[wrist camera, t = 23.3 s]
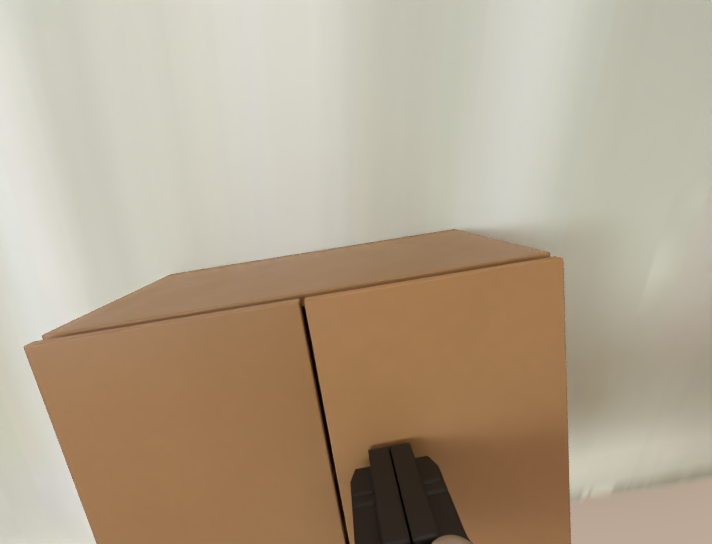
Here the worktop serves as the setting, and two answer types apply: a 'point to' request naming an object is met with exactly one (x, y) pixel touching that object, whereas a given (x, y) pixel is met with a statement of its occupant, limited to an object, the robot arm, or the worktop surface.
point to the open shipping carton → (220, 394)
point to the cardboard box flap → (456, 390)
